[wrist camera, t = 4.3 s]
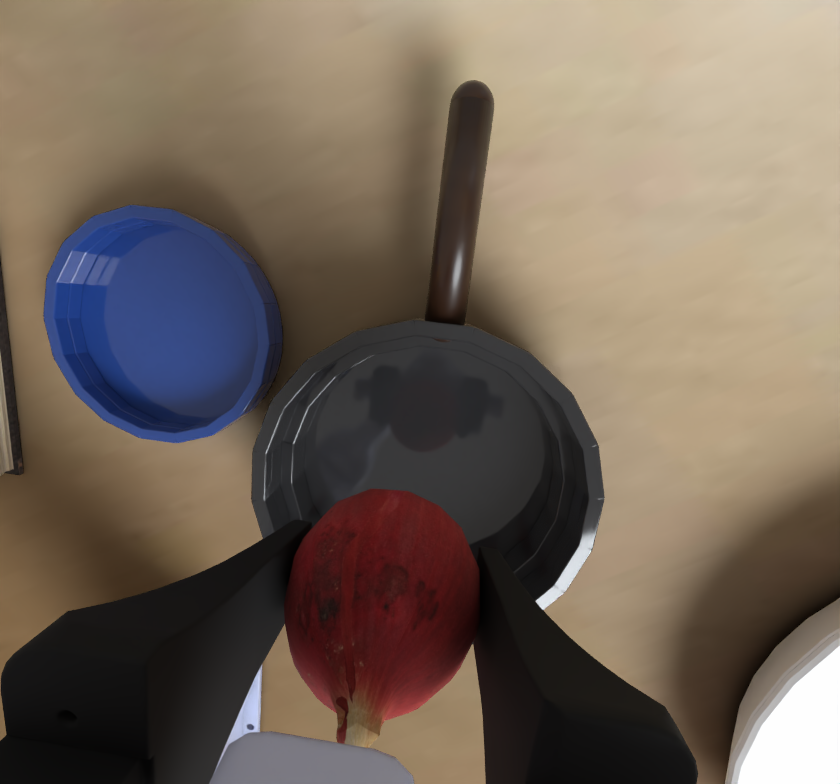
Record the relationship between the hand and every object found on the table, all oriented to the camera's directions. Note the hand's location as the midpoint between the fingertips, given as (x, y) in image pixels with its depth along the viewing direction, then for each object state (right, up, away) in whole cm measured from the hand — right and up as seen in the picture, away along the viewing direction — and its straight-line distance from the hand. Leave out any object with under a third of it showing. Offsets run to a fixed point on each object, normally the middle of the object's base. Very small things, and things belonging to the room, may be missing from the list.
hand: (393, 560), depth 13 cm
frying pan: (+1, +1, +9) cm, 9 cm away
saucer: (-12, +9, +8) cm, 17 cm away
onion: (0, 0, +2) cm, 3 cm away
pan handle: (+3, +13, +4) cm, 14 cm away
